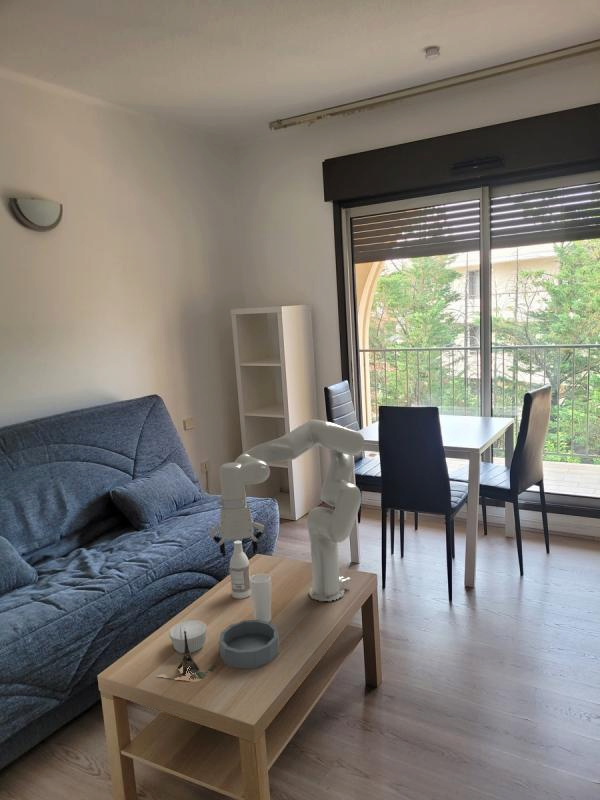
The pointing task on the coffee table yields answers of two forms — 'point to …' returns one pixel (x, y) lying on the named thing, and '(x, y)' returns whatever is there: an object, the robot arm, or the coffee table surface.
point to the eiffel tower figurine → (192, 664)
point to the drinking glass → (261, 596)
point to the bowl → (249, 644)
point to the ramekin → (188, 635)
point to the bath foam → (239, 572)
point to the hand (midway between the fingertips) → (239, 553)
